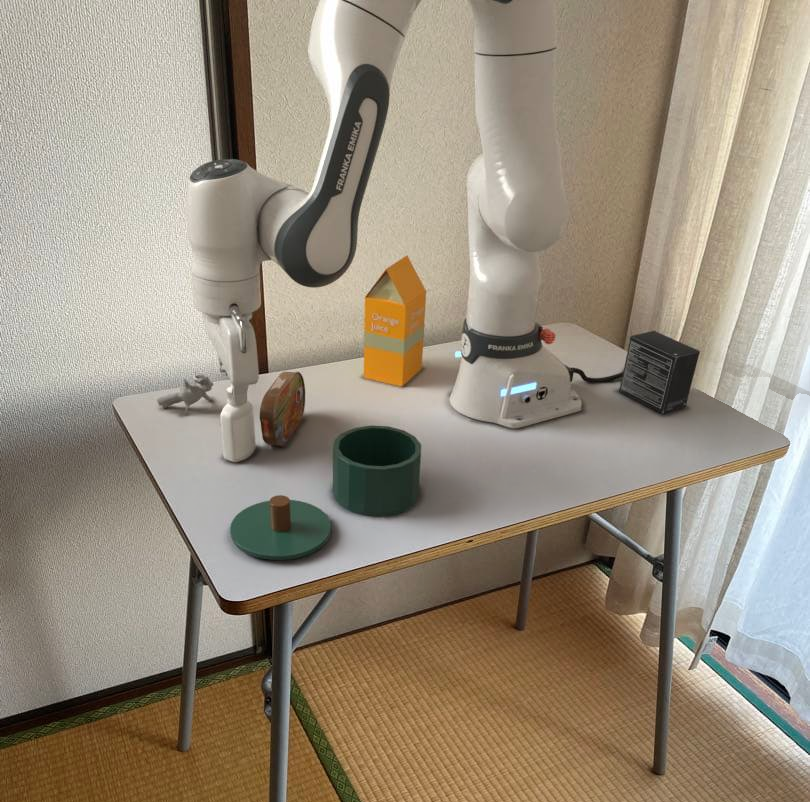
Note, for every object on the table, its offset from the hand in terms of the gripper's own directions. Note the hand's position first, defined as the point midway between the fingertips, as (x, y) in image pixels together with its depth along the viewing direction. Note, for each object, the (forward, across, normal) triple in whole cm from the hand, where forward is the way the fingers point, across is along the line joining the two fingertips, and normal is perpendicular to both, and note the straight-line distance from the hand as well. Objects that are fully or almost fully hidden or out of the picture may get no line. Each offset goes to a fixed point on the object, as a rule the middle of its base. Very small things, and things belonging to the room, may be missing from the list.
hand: (233, 387), depth 123 cm
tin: (+11, +5, -8) cm, 15 cm away
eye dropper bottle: (+11, 0, 0) cm, 11 cm away
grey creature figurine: (+11, +16, +5) cm, 20 cm away
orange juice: (+11, +21, -32) cm, 40 cm away
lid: (+10, -22, -1) cm, 24 cm away
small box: (+10, -1, -73) cm, 73 cm away
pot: (+11, -16, -16) cm, 25 cm away
